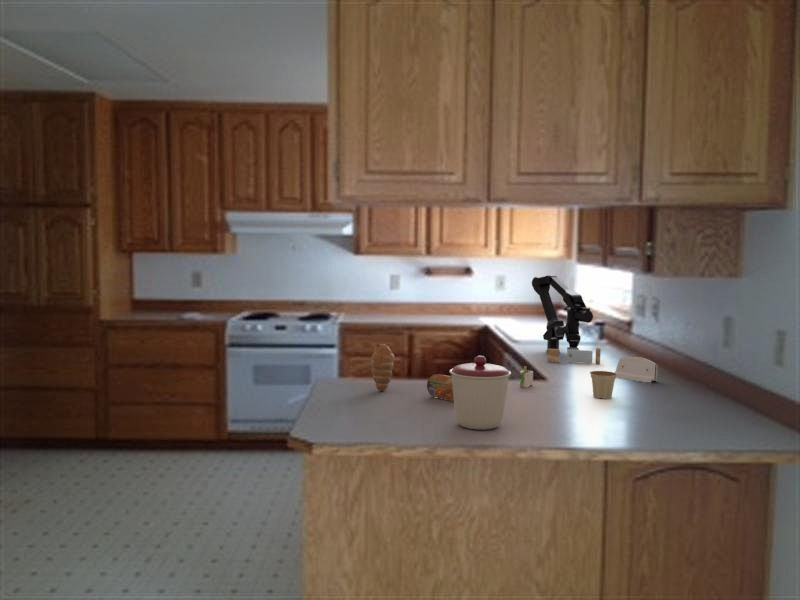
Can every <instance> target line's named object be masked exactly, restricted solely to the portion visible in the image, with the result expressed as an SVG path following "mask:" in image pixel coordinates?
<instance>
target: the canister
mask: <svg viewBox="0 0 800 600" xmlns="http://www.w3.org/2000/svg"><path fill="white" fill-rule="evenodd" d="M473 361H474V362H469V363H467V362H466V363H461V364H457V365H455V366H453V368H451V369H449V370H448V371H449V374H450V375H451V376H452V385H453V397H454V401H453V404H454V413H455V419H456V421H457V424H458V425H459V426H460V427H463V428H464V429H465V428H466V429H469V430H475V431H477V430H478V431H487V430H493V429H496V428H498V427H499V426H500V425H501V423H502V421H503V417H504V411H505V405H506V398H507V391H508V384H509V383H508V382H509V377H510V376H511V375H512V372H511V370H508V369H507V368H506V367H504V366H502V365H498V364H493V363H487V358H486V357H485V356H484V355H477V356H475V357H474V359H473Z"/></svg>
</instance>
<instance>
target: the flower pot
mask: <svg viewBox="0 0 800 600" xmlns="http://www.w3.org/2000/svg"><path fill="white" fill-rule="evenodd" d="M614 372H615V371H614ZM614 372H613V371H608V370H592V371H589V374H590V378H591V384H592V392H593V394H592V396H593V397H594V398H596V399H604V400H608V399H609V398H610V399H611V398H612V396H613V392H614V385H615V381H616V379H617V378H616V376H617V373H614Z"/></svg>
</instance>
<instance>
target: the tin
mask: <svg viewBox="0 0 800 600" xmlns="http://www.w3.org/2000/svg"><path fill="white" fill-rule="evenodd" d="M426 388H427V392H428V394H429V396H431V397H432V396H433V397H438V398H442V399H446V400H445V401H447V400H450V401H449V402H454V397H453V385H452V375H446V374H441V373H440V374H439V373H438V374H435V373H434V374H432V375H431V376H430V377H429V378H428V380H427V384H426ZM433 397H432V398H433ZM442 399H441V400H442Z"/></svg>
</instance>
